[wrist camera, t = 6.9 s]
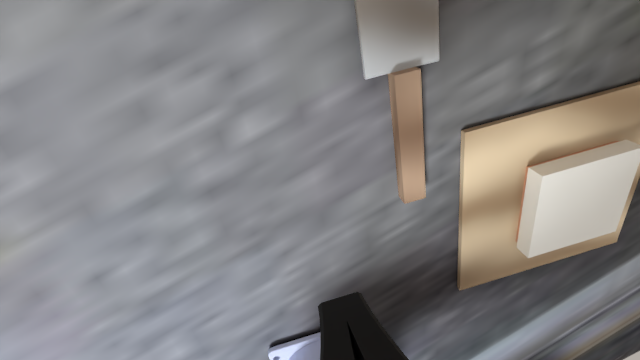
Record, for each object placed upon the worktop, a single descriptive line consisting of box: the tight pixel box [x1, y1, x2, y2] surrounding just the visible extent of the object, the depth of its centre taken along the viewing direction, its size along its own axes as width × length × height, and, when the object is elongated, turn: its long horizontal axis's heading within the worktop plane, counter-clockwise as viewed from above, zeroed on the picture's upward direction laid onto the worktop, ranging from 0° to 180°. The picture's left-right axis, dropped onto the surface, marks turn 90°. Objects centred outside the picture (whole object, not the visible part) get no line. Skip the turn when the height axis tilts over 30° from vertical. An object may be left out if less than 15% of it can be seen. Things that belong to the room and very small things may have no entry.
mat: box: [457, 81, 640, 291], centre depth 24 cm, size 14×14×1 cm
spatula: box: [354, 0, 439, 204], centre depth 18 cm, size 13×4×1 cm, turn 12°
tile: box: [516, 140, 640, 258], centre depth 23 cm, size 7×2×7 cm
